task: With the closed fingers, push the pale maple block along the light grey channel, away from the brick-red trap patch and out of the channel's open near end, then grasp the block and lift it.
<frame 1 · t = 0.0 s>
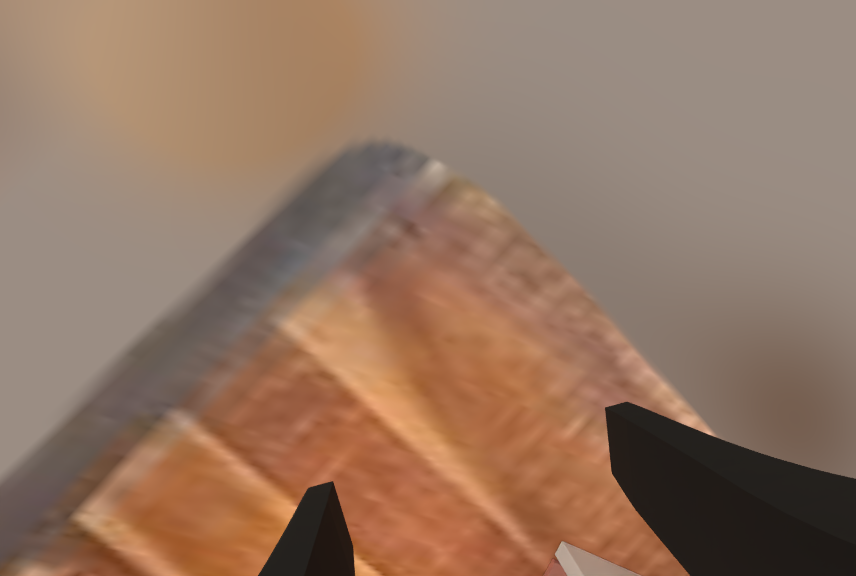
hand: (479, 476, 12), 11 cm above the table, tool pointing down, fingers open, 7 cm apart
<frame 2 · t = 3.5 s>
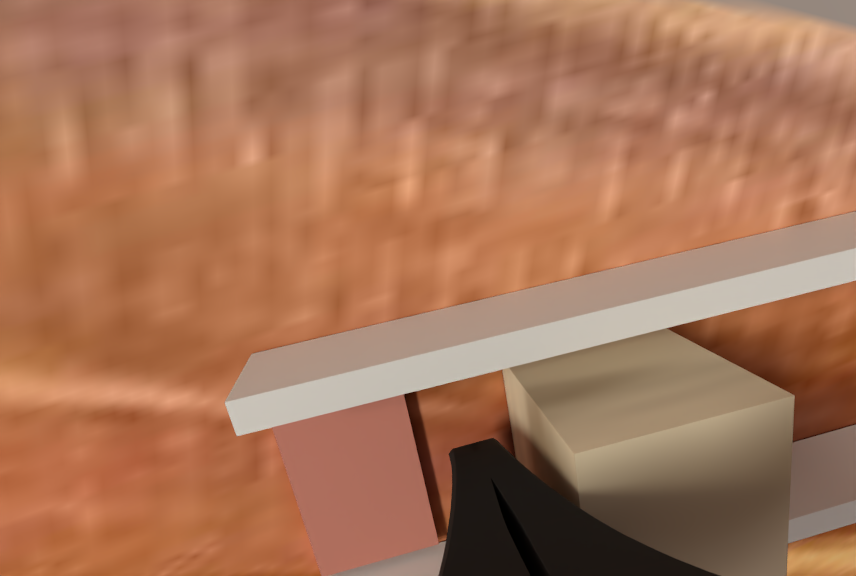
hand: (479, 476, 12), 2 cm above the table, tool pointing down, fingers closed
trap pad: (357, 469, 13), on the table
block: (583, 407, 14), on the table, touching gripper
channel: (598, 405, 14), on the table
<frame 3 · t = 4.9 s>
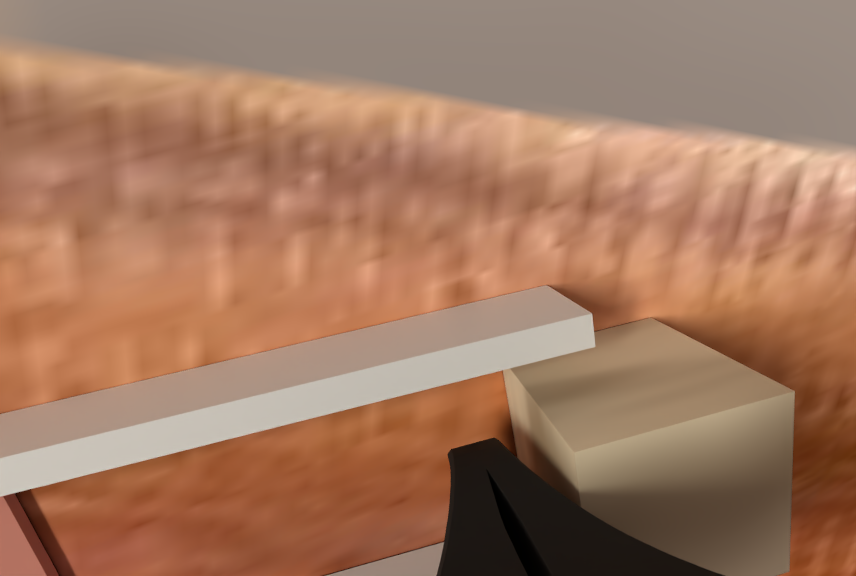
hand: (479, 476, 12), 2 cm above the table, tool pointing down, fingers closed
block: (584, 405, 14), on the table, touching gripper
channel: (255, 496, 13), on the table
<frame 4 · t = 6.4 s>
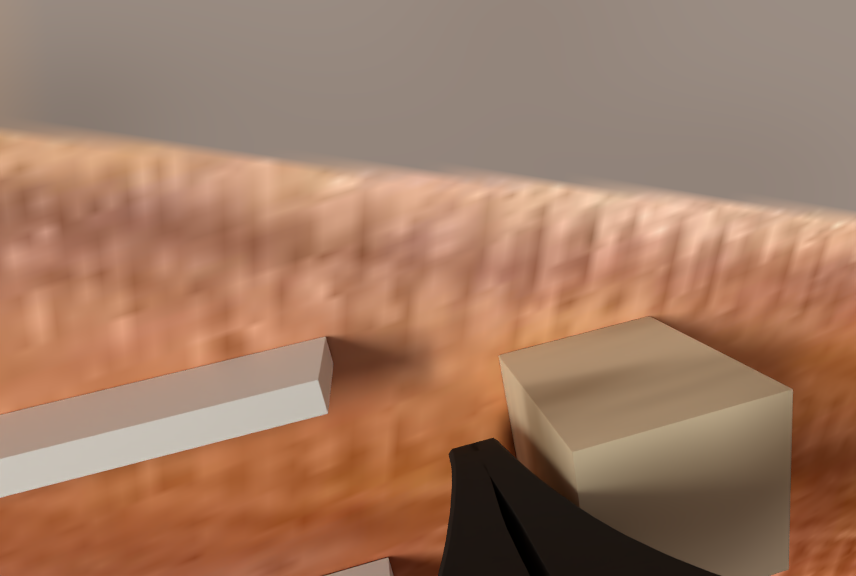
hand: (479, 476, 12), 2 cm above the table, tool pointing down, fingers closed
block: (583, 405, 14), on the table, touching gripper
channel: (27, 557, 12), on the table
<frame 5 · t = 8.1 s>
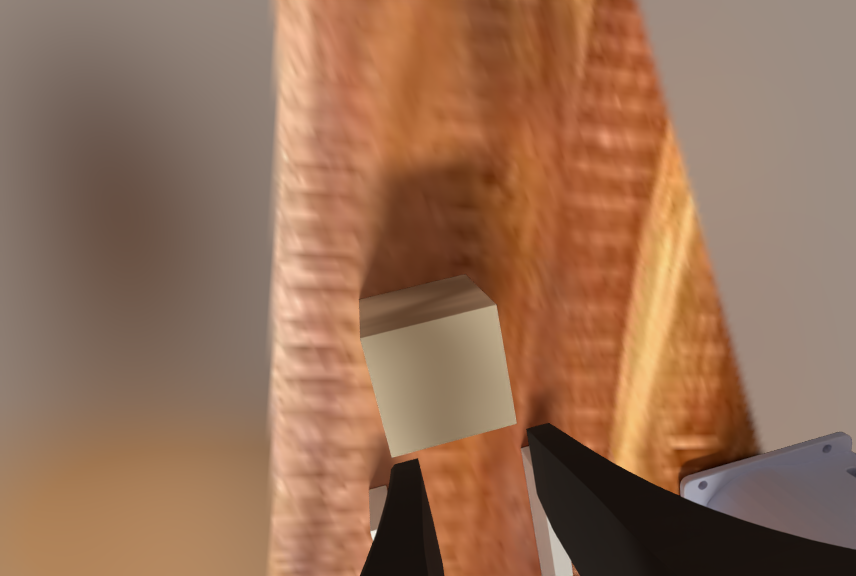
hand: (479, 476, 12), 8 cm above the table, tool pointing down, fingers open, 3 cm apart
block: (423, 335, 20), on the table
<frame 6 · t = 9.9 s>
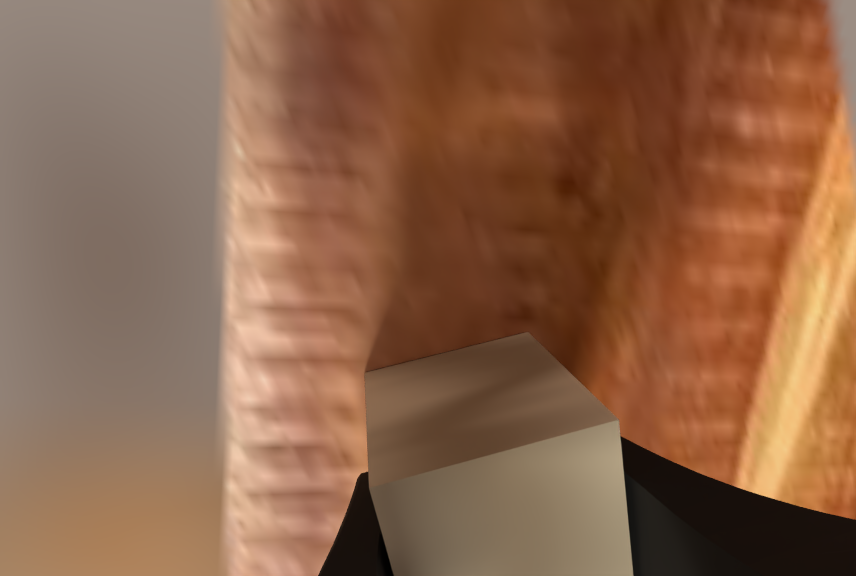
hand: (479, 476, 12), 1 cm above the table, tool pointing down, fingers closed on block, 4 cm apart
block: (462, 424, 13), on the table, touching gripper
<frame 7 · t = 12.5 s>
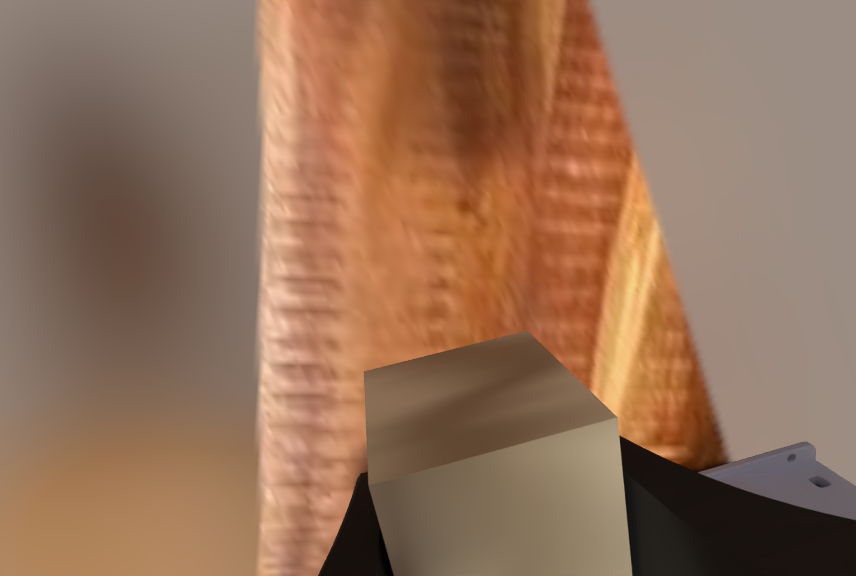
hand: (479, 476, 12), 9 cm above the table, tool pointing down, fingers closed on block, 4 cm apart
block: (461, 423, 13), point 8 cm above the table, touching gripper
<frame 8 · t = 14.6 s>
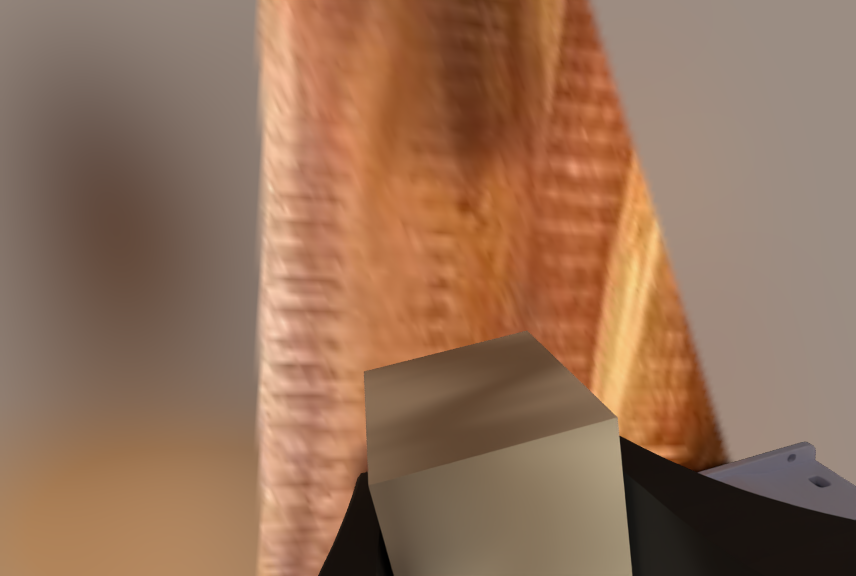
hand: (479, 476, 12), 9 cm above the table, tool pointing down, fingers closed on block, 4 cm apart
block: (461, 423, 13), point 8 cm above the table, touching gripper
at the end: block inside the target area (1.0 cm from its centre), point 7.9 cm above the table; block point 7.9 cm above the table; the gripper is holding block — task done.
